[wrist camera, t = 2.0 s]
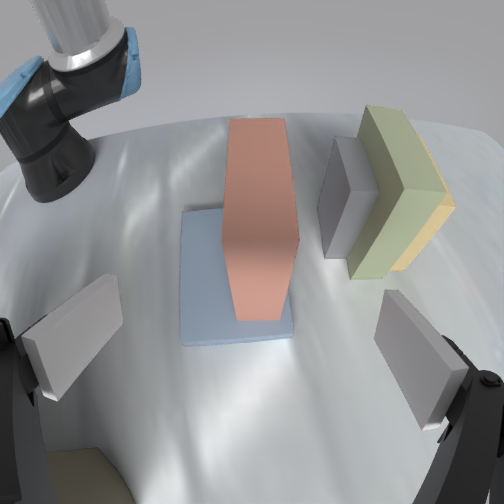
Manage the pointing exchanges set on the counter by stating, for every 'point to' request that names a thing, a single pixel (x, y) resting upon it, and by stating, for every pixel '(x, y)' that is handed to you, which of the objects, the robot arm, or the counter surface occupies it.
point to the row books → (397, 196)
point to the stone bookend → (345, 197)
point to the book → (86, 478)
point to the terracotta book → (259, 218)
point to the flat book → (215, 289)
